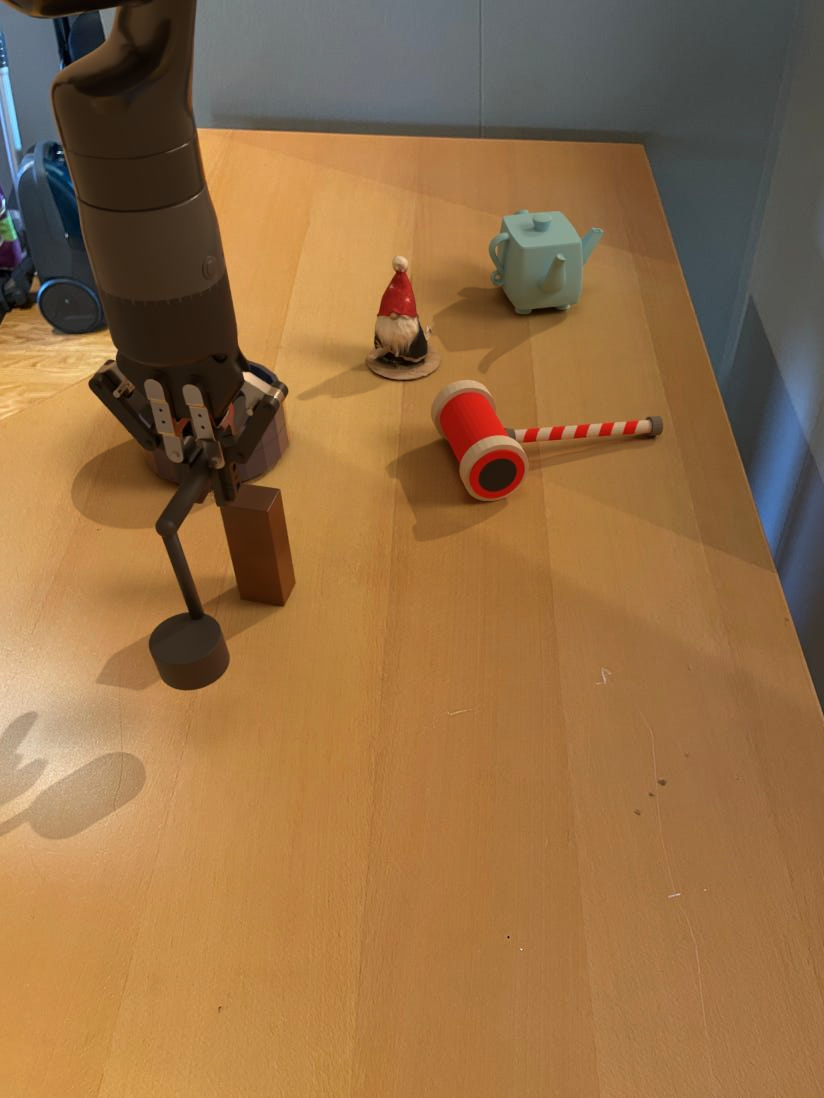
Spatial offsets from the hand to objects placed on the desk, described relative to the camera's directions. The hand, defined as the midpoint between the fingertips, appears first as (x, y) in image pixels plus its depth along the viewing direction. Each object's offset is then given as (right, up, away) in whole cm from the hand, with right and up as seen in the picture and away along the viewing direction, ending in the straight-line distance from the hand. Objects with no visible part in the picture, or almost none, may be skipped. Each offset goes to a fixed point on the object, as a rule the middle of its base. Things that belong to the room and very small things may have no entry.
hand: (213, 497), depth 69 cm
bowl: (-7, +9, +28) cm, 30 cm away
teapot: (+27, +32, +50) cm, 65 cm away
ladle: (0, -7, +5) cm, 8 cm away
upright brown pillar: (+1, -6, +14) cm, 15 cm away
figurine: (+10, +21, +40) cm, 46 cm away
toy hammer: (+24, +8, +28) cm, 38 cm away
